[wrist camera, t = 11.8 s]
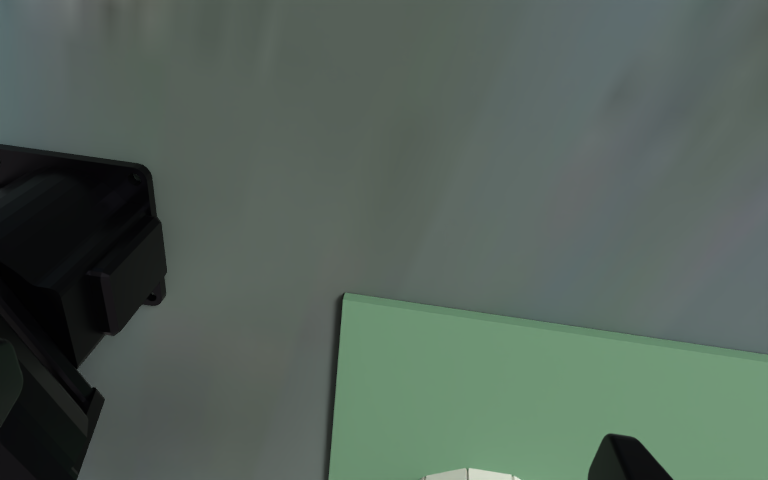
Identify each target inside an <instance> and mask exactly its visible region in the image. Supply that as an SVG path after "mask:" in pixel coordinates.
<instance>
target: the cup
mask: <svg viewBox="0 0 768 480" xmlns="http://www.w3.org/2000/svg"><path fill="white" fill-rule="evenodd" d="M420 480H521V479H519V478H517V477H516V476H513V477H512V476H511V474H504V473H498V472H492V471H485V470H479V469H473V468H469V469H468V471H467V469H466V468H463V469H458V470H453V471H448V472H442V473H437V474H432V475H427V476H426V478H425V477H423V478H421V479H420Z"/></svg>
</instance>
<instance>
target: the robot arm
mask: <svg viewBox="0 0 768 480" xmlns="http://www.w3.org/2000/svg"><path fill="white" fill-rule="evenodd" d="M0 160H1V161H0V480H77V478H78V475H79V472H80V469H81V466H82V463H83V460H84V458H85V455H86V452H87V449H88V446H89V443H90V441H91V438H92V435H93V432H94V429H95V426H96V424H97V421H98V418H99V415H100V412H101V409H102V406H103V404H104V401H105V399H104V397H103V396H102V395H101V394H100V392H99V391H98V390H97V389H96V388H91V386H90V385H89V384H88V383H87V382H86V380H85V379H84V378H83V377H82V375H81V374H80V373H79V372H78V371H77V369H78V368H79V366H80V365H81V364H82V363H83V361H84V360H85V359H86V358H87V357H88V355H89V354H90V353H91V352H92V351H93V349H94V348H95V347H96V346H97V344H98V343H99V342H100V341H101V340H102V338H103V337H104V336H105V335H112V336H114V335H116V334H117V333H118V332H120V331H121V330H122V329H123V327H124V326H125V325H126V324H127V322H128V321H129V320H130V319H131V317H132V316H133V315H134V314H135V312H136V311H137V310H138V308H139V307H140V306H141V305H142V304H144V305H151V306H156V305H159V304H160V303H161V302H162V300H163V299H164V298H165V296H166V287H165V279H164V276H165V275H166V273H167V266H166V258H165V250H164V241H163V233H162V224H161V222H160V220H159V219H158V217H157V213H156V205H155V197H154V189H153V181H152V175H151V172H150V171H149V170H148V168H146V167H145V166H144V165H141V164H138V163H132V162H124V161H117V160H110V159H103V158H96V157H89V156H82V155H74V154H67V153H60V152H53V151H46V150H39V149H31V148H24V147H17V146H10V145H3V144H0ZM133 173H134V174H136V175H138V176H139V177H140V179H141V182H140V181H137V180H136V179H135V178H134V176H133ZM151 292H153V293H154V294H155V295H156V296H155V295H152V294H151ZM588 480H674V479H673V478H672V477H671V476H670V475H669V474H668V473H667V471H666V470H665V469H664V468H663V467H662V466H661V465H660V463H659V462H658V461H657V460H656V459H655V458H654V457H653V456H652V454H651V453H650V452H649V451H648V450H647V449H646V448H645V446H644V445H643V444H642V443H641V442H640V441H639V440H638V439H636V438H634V437H632V436H626V435H619V434H613V433H609V434H607V435H605V436H604V438H603V439H602V441H601V443H600V446H599V448H598V450H597V452H596V454H595V457H594V459H593V461H592V463H591V465H590V468H589V472H588Z"/></svg>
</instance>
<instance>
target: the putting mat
mask: <svg viewBox="0 0 768 480" xmlns="http://www.w3.org/2000/svg"><path fill="white" fill-rule="evenodd" d="M609 433H613V434H619V435H626V436H632V437H634V438H636V439H638V440H639V441H640V442H641V443H642V444H643V445H644V446H645V448H646V449H647V450H648V451H649V452H650V453H651V454H652V456H653V457H654V458H655V459H656V460H657V461H658V462H659V463H660V465H661V466H662V467H663V468H664V469H665V470H666V471H667V473H668V474H669V475H670V476H671V477H672V478H673V479H674V480H768V355H766V354H760V353H753V352H746V351H739V350H732V349H725V348H719V347H712V346H705V345H698V344H691V343H685V342H678V341H671V340H664V339H657V338H651V337H644V336H637V335H630V334H623V333H617V332H610V331H603V330H596V329H589V328H583V327H576V326H569V325H562V324H555V323H548V322H542V321H535V320H528V319H521V318H514V317H508V316H501V315H494V314H487V313H480V312H474V311H467V310H460V309H453V308H446V307H440V306H433V305H426V304H419V303H412V302H405V301H399V300H392V299H385V298H378V297H371V296H365V295H358V294H351V293H345V294H344V298H343V306H342V319H341V331H340V344H339V356H338V368H337V381H336V393H335V406H334V418H333V431H332V443H331V456H330V468H329V480H420V479H421V478H423V477H425V478H426V476H427V475H432V474H437V473H442V472H448V471H453V470H458V469H463V468H466V469H467V471H468V469H469V468H473V469H479V470H485V471H492V472H498V473H504V474H511V476H512V477H513V476H516V477H517V478H519V479H521V480H588V472H589V468H590V465H591V463H592V461H593V459H594V457H595V454H596V452H597V450H598V448H599V446H600V443H601V441H602V439H603V438H604V436H605V435H607V434H609Z"/></svg>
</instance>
